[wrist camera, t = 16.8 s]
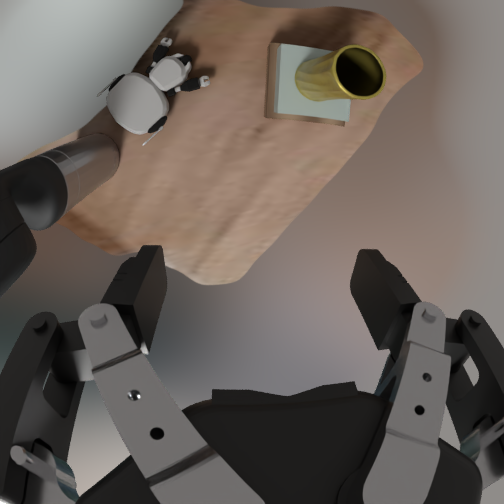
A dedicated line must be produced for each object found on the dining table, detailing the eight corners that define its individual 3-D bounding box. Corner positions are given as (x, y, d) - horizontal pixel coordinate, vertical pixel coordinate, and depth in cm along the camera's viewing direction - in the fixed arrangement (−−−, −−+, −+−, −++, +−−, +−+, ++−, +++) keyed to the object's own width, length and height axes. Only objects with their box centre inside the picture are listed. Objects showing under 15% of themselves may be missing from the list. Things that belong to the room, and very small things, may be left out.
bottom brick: (264, 116, 40) (266, 118, 37) (267, 47, 34) (270, 42, 31) (335, 124, 41) (344, 126, 37) (340, 57, 35) (349, 54, 31)
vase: (313, 51, 28) (355, 27, 16) (347, 81, 30) (402, 77, 18) (284, 80, 31) (312, 69, 18) (319, 110, 33) (363, 118, 20)
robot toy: (169, 37, 33) (103, 98, 36) (164, 29, 29) (92, 98, 32) (216, 85, 38) (147, 145, 41) (215, 81, 34) (139, 149, 37)
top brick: (273, 112, 36) (277, 113, 33) (277, 48, 31) (281, 43, 28) (339, 119, 37) (348, 121, 33) (343, 59, 32) (353, 55, 28)
